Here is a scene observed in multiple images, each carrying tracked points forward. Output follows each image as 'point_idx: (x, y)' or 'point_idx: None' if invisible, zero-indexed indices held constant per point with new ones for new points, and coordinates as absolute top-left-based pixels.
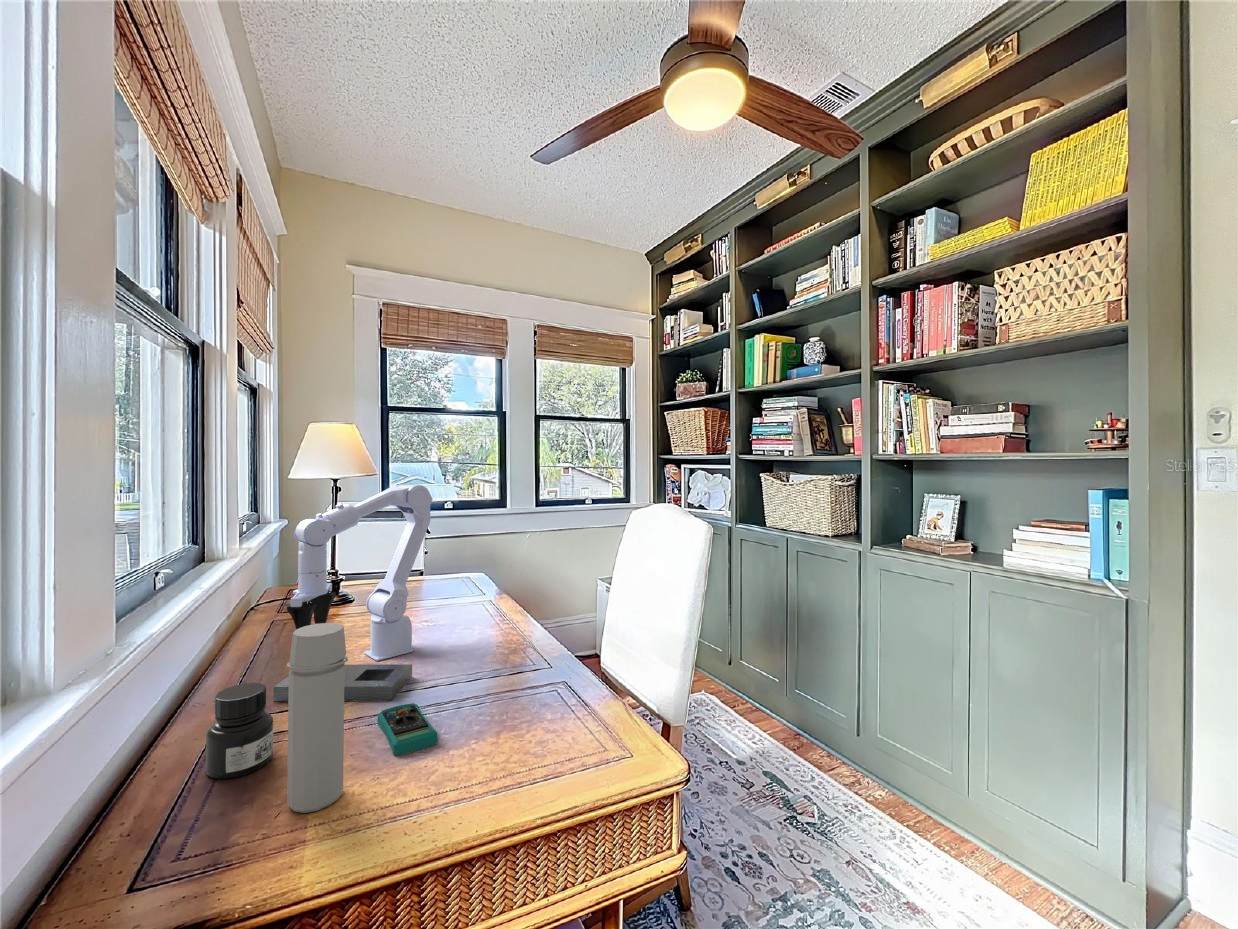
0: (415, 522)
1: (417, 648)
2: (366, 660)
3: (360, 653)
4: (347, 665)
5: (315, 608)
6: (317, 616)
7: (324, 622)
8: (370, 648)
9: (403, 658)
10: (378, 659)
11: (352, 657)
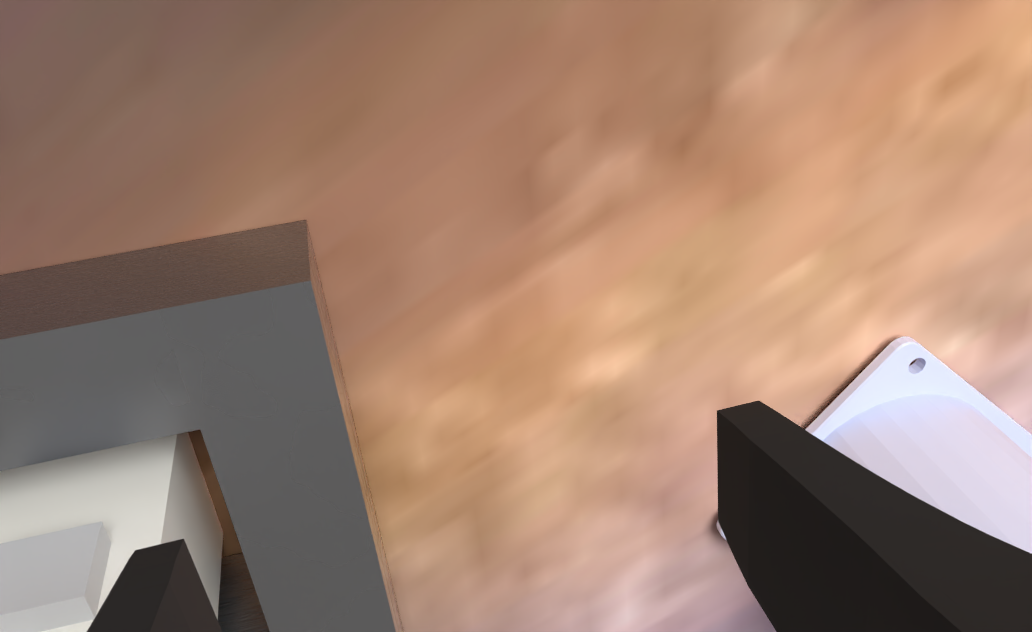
0: None
1: None
2: None
3: (911, 294)
4: (370, 623)
5: (898, 626)
6: (792, 539)
7: (739, 553)
8: (876, 445)
9: None
10: (724, 536)
11: (819, 291)
